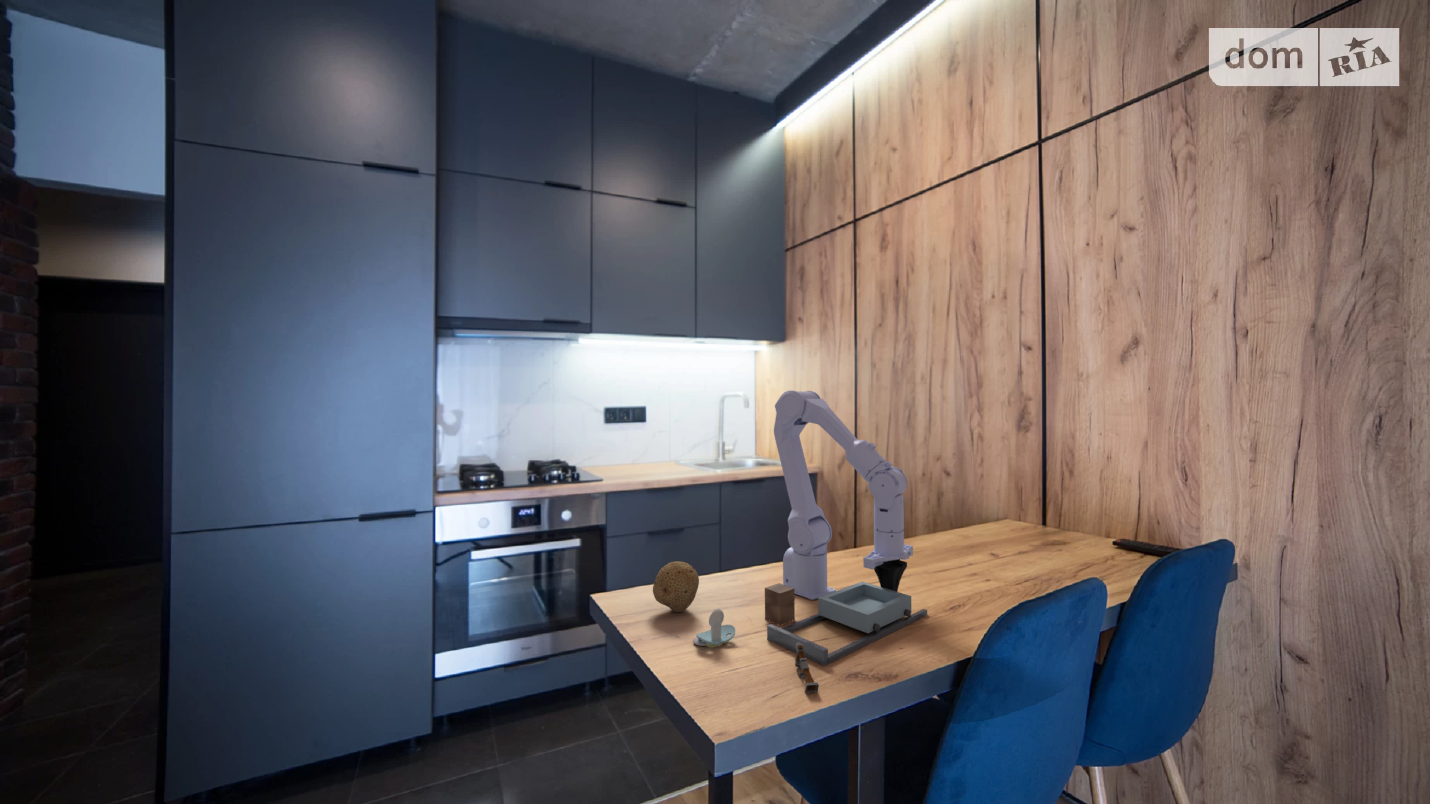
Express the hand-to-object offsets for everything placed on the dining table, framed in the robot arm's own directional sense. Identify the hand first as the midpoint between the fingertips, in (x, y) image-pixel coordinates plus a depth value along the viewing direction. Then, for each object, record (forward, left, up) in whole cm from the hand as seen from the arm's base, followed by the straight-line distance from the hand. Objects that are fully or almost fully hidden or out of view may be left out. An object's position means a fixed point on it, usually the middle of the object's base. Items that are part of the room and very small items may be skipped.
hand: (889, 597), depth 107 cm
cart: (0, -8, -1) cm, 8 cm away
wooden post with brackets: (+7, -34, -3) cm, 35 cm away
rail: (0, -12, -2) cm, 12 cm away
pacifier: (-12, -36, -3) cm, 38 cm away
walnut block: (-11, -20, -2) cm, 23 cm away
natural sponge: (-27, -33, -3) cm, 43 cm away
